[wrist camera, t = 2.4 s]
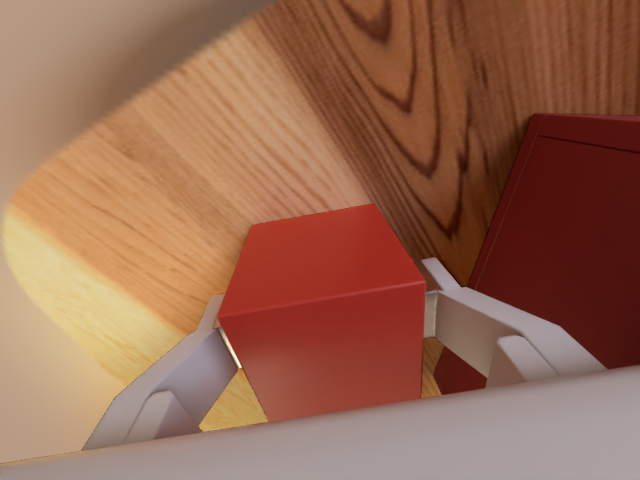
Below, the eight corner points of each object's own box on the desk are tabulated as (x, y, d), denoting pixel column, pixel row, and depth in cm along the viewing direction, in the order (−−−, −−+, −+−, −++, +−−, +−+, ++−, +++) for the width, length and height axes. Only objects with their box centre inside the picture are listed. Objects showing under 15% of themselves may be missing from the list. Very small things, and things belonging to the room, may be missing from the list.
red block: (251, 224, 9) (214, 316, 5) (374, 202, 9) (427, 280, 5) (281, 314, 12) (269, 426, 8) (381, 297, 11) (422, 402, 8)
